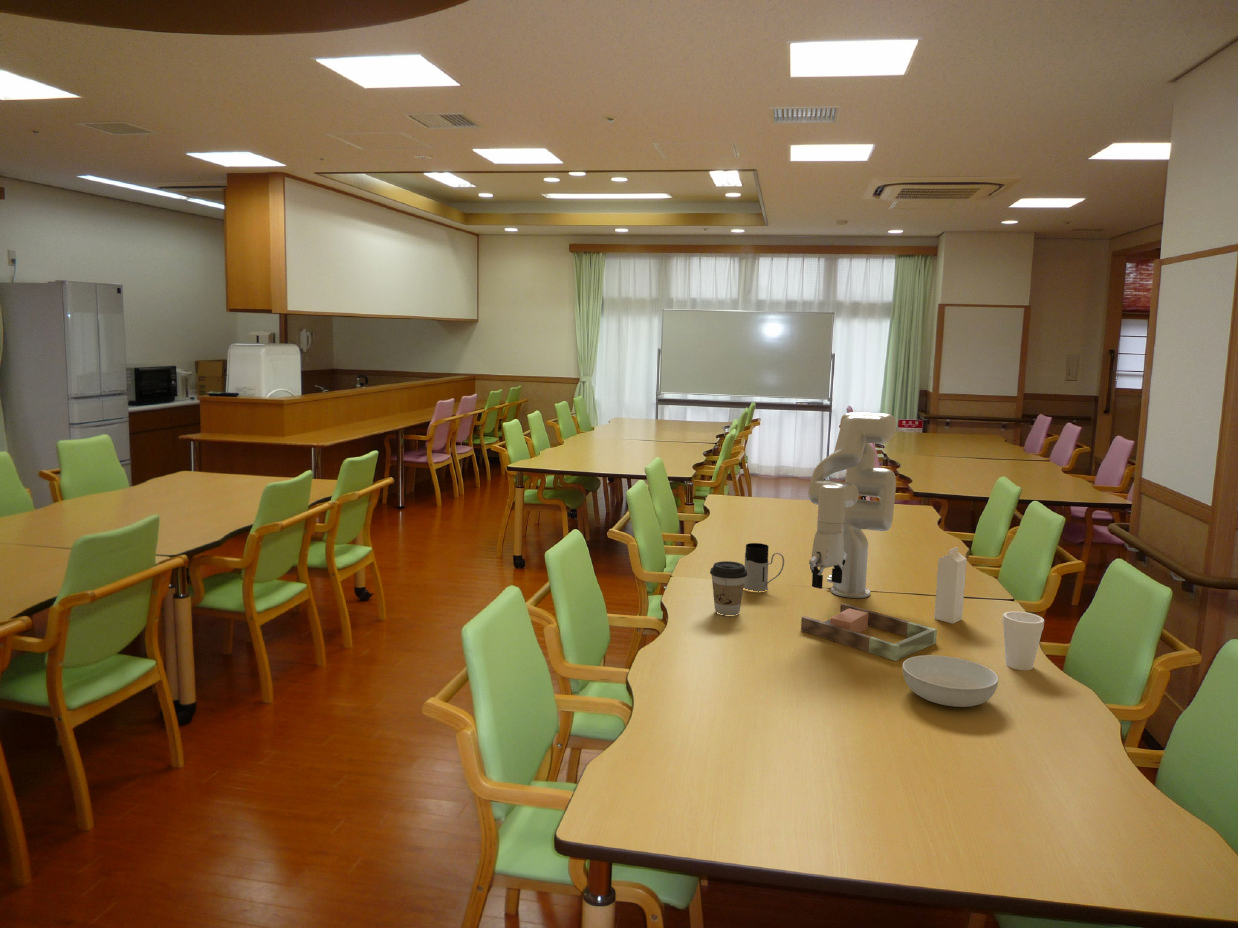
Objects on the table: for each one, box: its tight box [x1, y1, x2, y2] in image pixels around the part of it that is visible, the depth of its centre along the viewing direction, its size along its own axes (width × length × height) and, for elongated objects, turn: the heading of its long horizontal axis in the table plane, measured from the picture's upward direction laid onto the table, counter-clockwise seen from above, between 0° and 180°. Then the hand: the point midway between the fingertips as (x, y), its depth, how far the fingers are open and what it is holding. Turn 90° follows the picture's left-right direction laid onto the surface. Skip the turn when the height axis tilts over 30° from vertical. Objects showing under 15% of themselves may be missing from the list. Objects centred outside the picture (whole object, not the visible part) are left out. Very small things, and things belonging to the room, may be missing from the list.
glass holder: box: [744, 542, 785, 592], centre depth 275 cm, size 9×14×15 cm, turn 54°
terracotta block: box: [829, 608, 869, 633], centre depth 237 cm, size 6×12×5 cm, turn 140°
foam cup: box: [1001, 610, 1045, 671], centre depth 213 cm, size 10×9×13 cm
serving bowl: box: [902, 654, 999, 708], centre depth 192 cm, size 21×21×7 cm
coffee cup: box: [709, 560, 747, 616], centre depth 251 cm, size 11×11×15 cm
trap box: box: [800, 602, 938, 662], centre depth 233 cm, size 30×21×4 cm
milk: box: [933, 546, 968, 624], centre depth 248 cm, size 6×6×22 cm
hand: (826, 584), depth 241 cm, fingers open, 9 cm apart
